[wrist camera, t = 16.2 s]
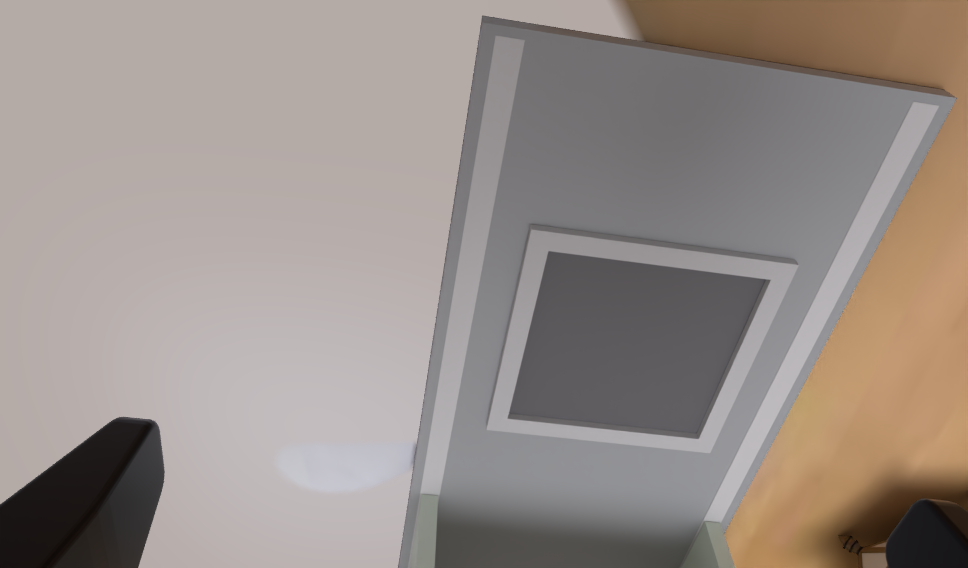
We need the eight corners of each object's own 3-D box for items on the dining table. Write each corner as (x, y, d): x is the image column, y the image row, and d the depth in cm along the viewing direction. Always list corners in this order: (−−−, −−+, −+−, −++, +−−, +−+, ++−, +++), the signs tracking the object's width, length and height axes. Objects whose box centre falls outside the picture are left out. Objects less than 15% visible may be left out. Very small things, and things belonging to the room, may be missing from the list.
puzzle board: (944, 89, 19) (963, 102, 18) (671, 612, 32) (676, 632, 31) (482, 15, 18) (482, 26, 17) (394, 589, 31) (392, 609, 30)
